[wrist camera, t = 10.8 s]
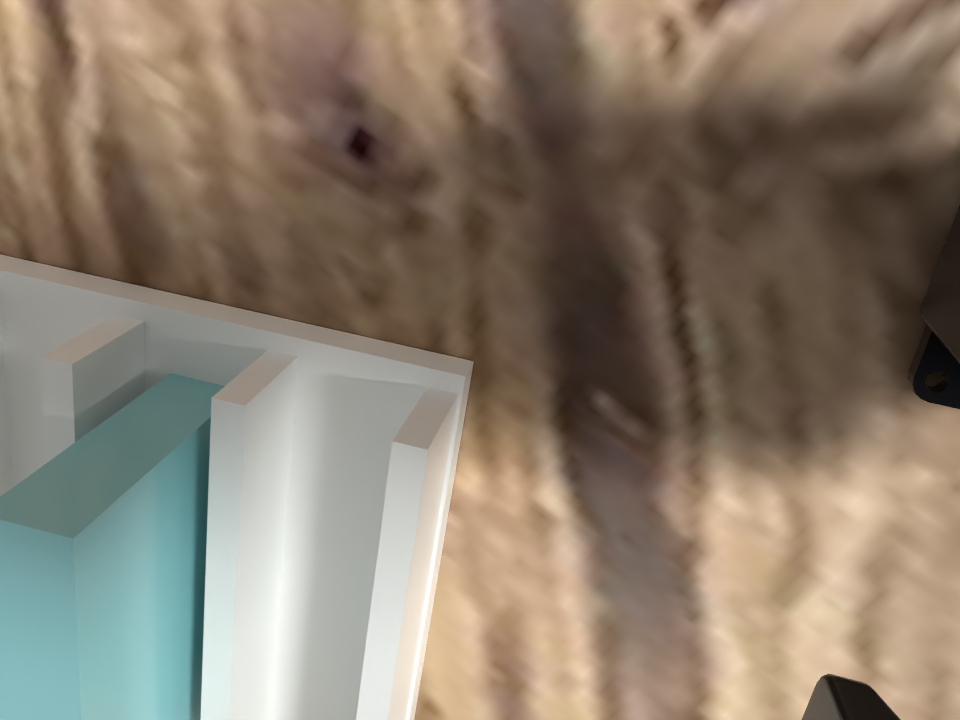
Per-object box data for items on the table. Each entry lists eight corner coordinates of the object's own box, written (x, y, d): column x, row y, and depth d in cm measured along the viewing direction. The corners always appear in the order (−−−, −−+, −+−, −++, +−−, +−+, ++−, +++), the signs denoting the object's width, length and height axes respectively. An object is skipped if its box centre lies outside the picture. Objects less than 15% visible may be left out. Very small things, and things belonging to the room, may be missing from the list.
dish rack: (474, 361, 22) (435, 430, 18) (407, 758, 28) (368, 871, 24) (-7, 252, 24) (-130, 296, 20) (22, 647, 29) (-70, 737, 26)
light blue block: (240, 389, 23) (72, 539, 16) (228, 681, 27) (88, 892, 20) (169, 373, 23) (-24, 513, 16) (167, 664, 27) (11, 867, 20)
